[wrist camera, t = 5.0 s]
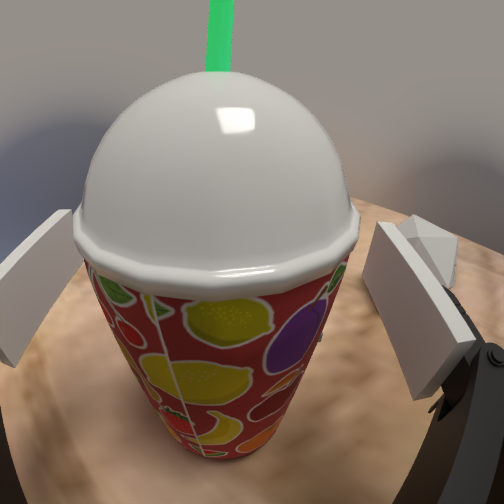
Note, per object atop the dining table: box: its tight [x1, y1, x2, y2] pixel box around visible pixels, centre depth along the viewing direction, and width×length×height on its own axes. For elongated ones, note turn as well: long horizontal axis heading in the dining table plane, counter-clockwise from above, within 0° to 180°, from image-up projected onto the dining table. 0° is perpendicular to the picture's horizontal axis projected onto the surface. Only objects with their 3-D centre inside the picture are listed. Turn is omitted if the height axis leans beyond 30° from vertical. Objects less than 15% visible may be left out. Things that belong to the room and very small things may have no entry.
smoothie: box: [72, 0, 361, 459], centre depth 10 cm, size 8×8×20 cm
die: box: [396, 214, 458, 290], centre depth 24 cm, size 8×9×10 cm
